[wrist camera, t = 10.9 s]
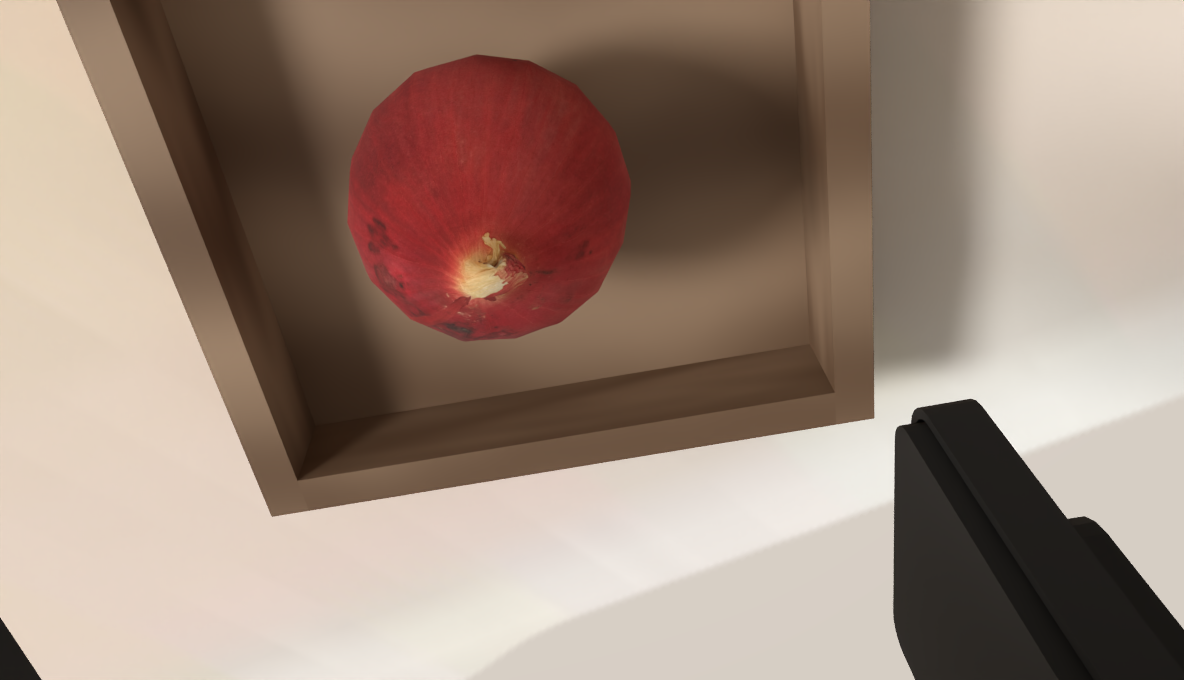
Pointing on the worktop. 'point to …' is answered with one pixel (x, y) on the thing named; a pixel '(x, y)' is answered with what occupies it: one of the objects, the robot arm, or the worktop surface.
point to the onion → (488, 198)
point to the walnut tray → (553, 354)
